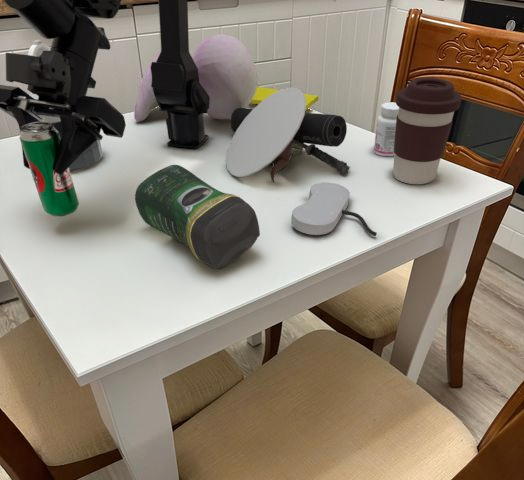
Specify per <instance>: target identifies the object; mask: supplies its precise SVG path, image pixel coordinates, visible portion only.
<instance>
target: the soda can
mask: <svg viewBox="0 0 524 480" xmlns="http://www.w3.org/2000/svg"><path fill="white" fill-rule="evenodd" d="M20 132H21V134H20V135H19V141H20V144H21V148H22V147H23V150H24V153H25V156H26V159H27V162H28V165H29V168H30V169H29V171H30V174H31V176H32V180H33V182H34V185H35V188H36V191H37V194H38V197H39V201H40V203H41V206H42V209H43V211H44V212H45V213H47V215H49V216H50V217H66V216H69V215H71V214H73V213H75V212H76V211H77V209H78V207H79V205H80V203H79V199H78V195H77V191H76V187H75V185H74V182H73V177H72V174H71V171H70V170H69V167H68V169H67V170H66V171H65V172H64V173H63V174H62V175H59V174H57V173H55V171H54V170H55V162H56V157H57V153H58V149H59V144H60V140H61V139H60V135H59V132H58V131H57V130H56V129H55V128H54V125H53V124H52V123H50V122H33V123H29V124H26V125H24V126H22V127H21V128H20V129H19V133H20Z"/></svg>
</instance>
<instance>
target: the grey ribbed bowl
mask: <svg viewBox="0 0 524 480" xmlns="http://www.w3.org/2000/svg"><path fill="white" fill-rule="evenodd" d="M52 124H53V125H54V128H55V129H56V130H57V131H58V132H59V135H60V139H61V136H62V125H61V121H57V122H52ZM103 156H104V152H103V147H102V143H101V140H97V141H95V142H94V143H93V144H92V145H91V146H90V147H89V148H87V149H86V150H85V151H84V152H83V153H82V154H81V155H80V156H79V157H78V158H77V159H76V160H75V161H74V162H73V163H72V164H71V165H70V166H69V170H70V172H74V171H79V170H83V169H86V168H88V167H90V166H92V165H94V164H96V163H98V162H99V161H100V160H101V159H102V158H103Z"/></svg>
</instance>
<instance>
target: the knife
mask: <svg viewBox="0 0 524 480" xmlns="http://www.w3.org/2000/svg"><path fill="white" fill-rule="evenodd" d="M291 141H293V142H294V143H296V144H298V145H300V146H301V147H302V148H303V150H304V152H305V154H306V155H307V156H309V157H310V156H312V157H314V158H316V159H318V160H319V161H321V162H322V163H324V164H326V165H328V166H330V167H331V168H333V169H335V170H336V171H337V172H338V173H339V174H348V172H349V171H350V169H351V166H349V165H348V164H347V162H345V161H344V160H340V159H338V158H336V157H334V156H332V155H331V154H329V153H328V152H326V151H324V150H322V149H320V148H319V147H318V146H316V145H315V144H307V143H301V142H299V141H296V140H294V139H292V140H291Z"/></svg>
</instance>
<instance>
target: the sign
mask: <svg viewBox="0 0 524 480" xmlns="http://www.w3.org/2000/svg"><path fill="white" fill-rule="evenodd" d="M280 90H281V89H276V88H269V87H264V86H263V87H262V86H257V88H256V92H255V95H254V97H253V99H252V101H251V102H250V104H251V105H253V104H254V105H255V106H257V105H258V104H260V103H261V102H262V101H263V100H264V99H266V98H267V97H269V96H270V95H272V94H273V93H275V92H277V91H280ZM303 94H304V95H305V99H306V109H305V111H307V110H308V109H309V108H311V106H313V105H314V104H315V103H316V102H318V101H319V95H316V94H308V93H303Z"/></svg>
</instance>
